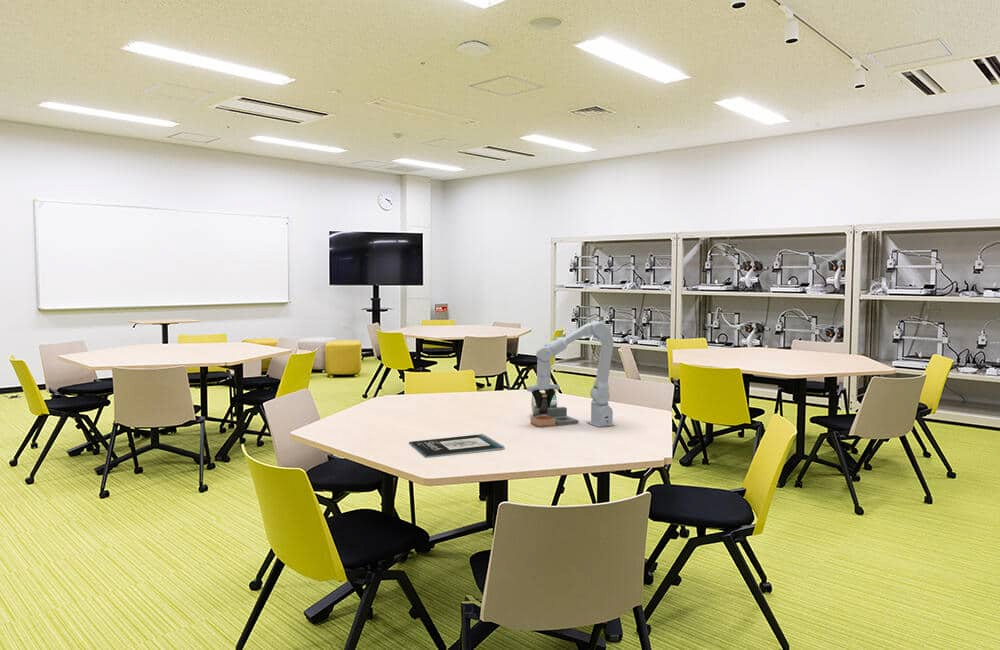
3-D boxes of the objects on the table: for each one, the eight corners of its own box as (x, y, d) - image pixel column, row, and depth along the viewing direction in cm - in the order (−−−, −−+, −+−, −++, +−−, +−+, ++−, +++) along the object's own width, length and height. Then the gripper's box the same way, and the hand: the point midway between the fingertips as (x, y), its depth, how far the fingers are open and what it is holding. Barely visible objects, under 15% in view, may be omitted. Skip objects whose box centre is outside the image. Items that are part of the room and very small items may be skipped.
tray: (555, 425, 284) (555, 418, 284) (539, 427, 281) (539, 420, 280) (546, 422, 291) (546, 415, 291) (530, 423, 288) (530, 416, 287)
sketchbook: (408, 445, 252) (408, 439, 252) (483, 438, 264) (483, 432, 264) (425, 459, 232) (425, 453, 232) (505, 450, 244) (505, 445, 244)
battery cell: (549, 413, 284) (549, 393, 284) (541, 414, 283) (541, 394, 282) (544, 411, 288) (545, 392, 287) (536, 412, 286) (536, 392, 286)
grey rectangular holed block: (578, 423, 288) (578, 411, 288) (557, 425, 284) (558, 413, 284) (563, 417, 300) (563, 406, 300) (543, 419, 296) (543, 407, 296)
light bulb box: (553, 401, 308) (555, 390, 299) (555, 414, 304) (558, 403, 295) (530, 403, 307) (531, 392, 298) (532, 416, 303) (533, 405, 294)
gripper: (554, 373, 291) (553, 404, 292) (524, 375, 285) (523, 406, 286) (562, 375, 284) (561, 407, 285) (531, 377, 278) (531, 409, 279)
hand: (543, 407), depth 285 cm, fingers closed on battery cell, 4 cm apart
